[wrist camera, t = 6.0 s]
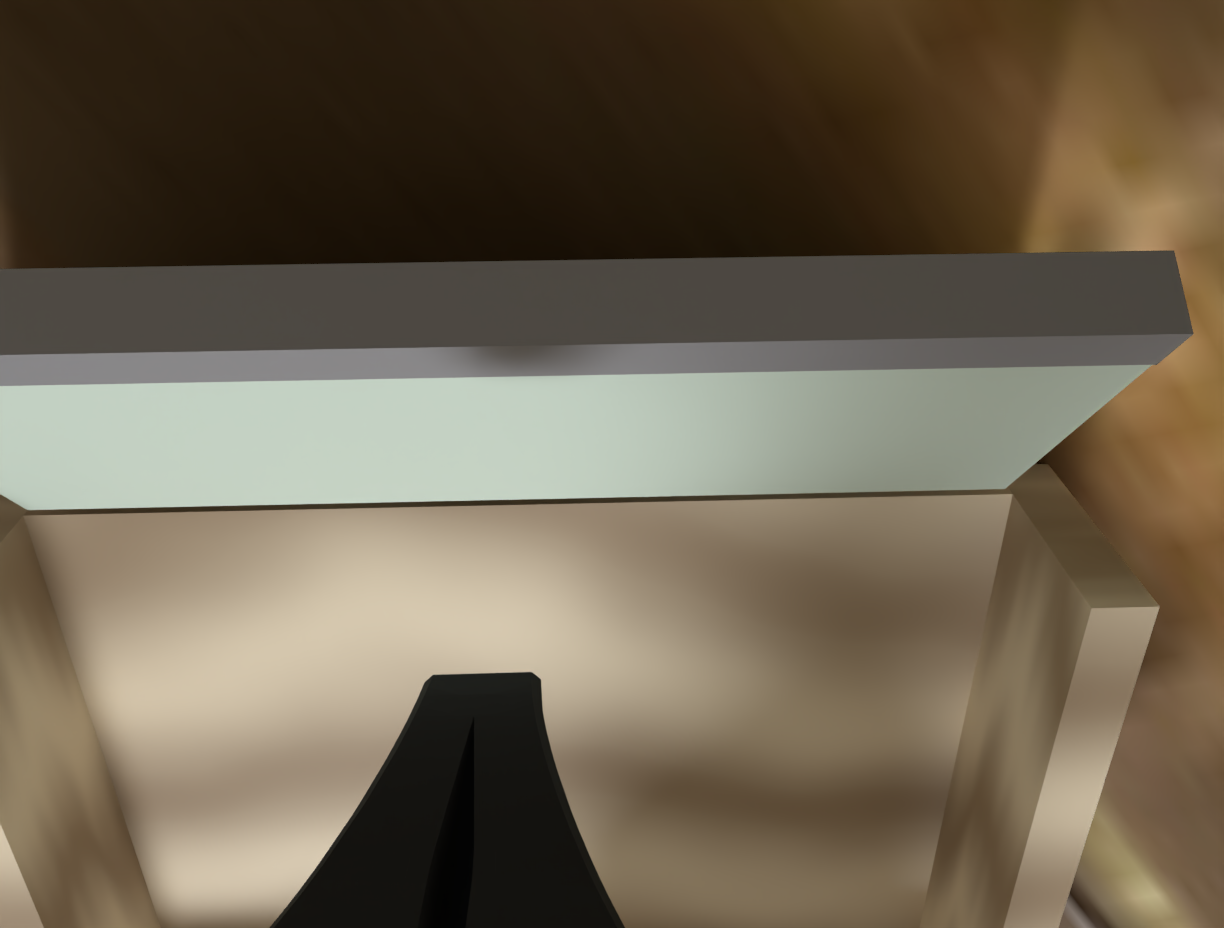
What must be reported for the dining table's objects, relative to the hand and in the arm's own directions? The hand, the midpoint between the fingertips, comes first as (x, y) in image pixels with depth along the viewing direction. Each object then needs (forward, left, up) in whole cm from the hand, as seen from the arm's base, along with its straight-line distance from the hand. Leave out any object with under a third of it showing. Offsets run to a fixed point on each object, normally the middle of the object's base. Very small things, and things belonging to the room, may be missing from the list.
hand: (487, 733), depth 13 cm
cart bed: (-10, 0, -10) cm, 14 cm away
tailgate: (-1, 0, -8) cm, 8 cm away
